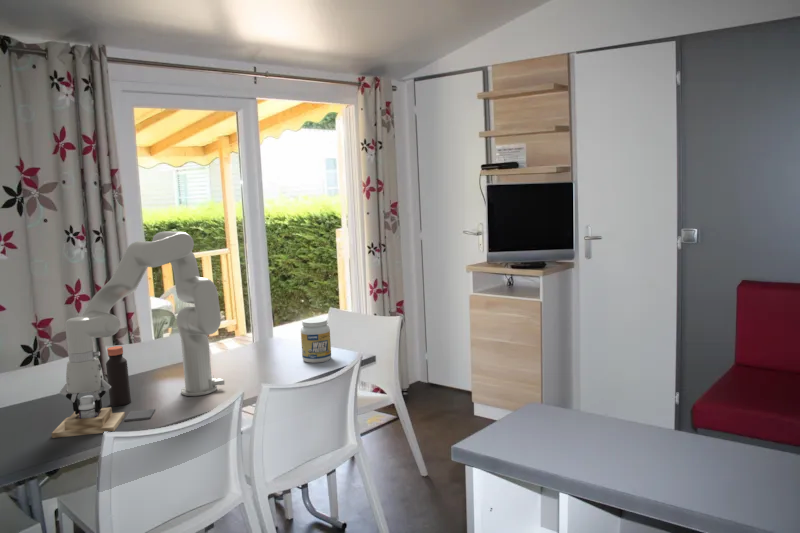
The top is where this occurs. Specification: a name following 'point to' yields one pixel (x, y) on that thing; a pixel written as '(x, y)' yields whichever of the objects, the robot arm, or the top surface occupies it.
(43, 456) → the top surface
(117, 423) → the housing
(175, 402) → the top surface
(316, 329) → the supplement tub
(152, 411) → the mat
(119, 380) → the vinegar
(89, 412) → the pill bottle
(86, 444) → the top surface
